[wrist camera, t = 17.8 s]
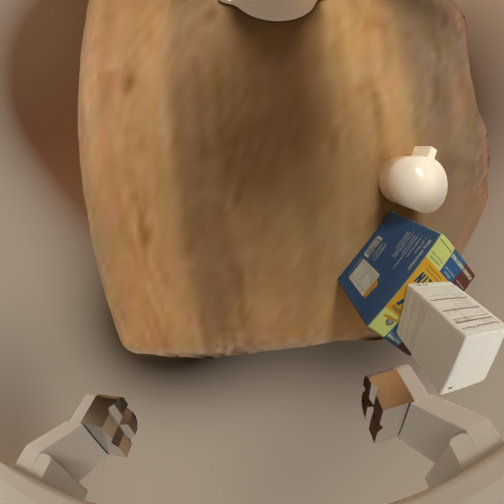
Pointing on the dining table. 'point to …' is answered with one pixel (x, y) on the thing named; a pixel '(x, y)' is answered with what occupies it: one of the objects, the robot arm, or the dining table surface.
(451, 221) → the dining table surface
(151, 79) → the dining table surface
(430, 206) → the off-white mug
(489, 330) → the supplement box
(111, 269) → the dining table surface
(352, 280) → the protein box
